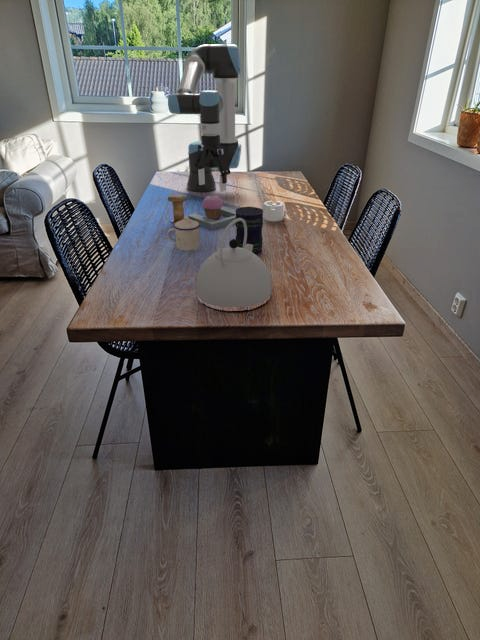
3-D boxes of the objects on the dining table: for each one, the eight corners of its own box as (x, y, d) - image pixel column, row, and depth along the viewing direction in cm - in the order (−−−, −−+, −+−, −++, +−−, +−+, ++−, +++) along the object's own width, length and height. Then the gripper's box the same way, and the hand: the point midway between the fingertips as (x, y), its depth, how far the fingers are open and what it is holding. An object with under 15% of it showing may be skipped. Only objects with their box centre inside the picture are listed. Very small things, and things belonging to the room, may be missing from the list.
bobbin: (166, 222, 190) (163, 196, 184) (180, 218, 195) (179, 193, 189) (177, 227, 185) (175, 200, 179) (192, 222, 190) (191, 197, 184)
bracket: (282, 222, 192) (283, 206, 188) (262, 221, 193) (262, 206, 189) (285, 208, 209) (285, 194, 205) (266, 207, 210) (267, 193, 206)
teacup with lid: (201, 243, 169) (200, 213, 163) (199, 252, 162) (197, 221, 156) (170, 242, 170) (167, 213, 164) (166, 252, 162) (163, 221, 156)
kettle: (219, 269, 149) (218, 203, 137) (283, 281, 141) (287, 212, 130) (182, 302, 129) (177, 228, 118) (254, 318, 122) (256, 240, 110)
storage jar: (243, 257, 157) (243, 216, 150) (230, 248, 165) (230, 209, 157) (267, 253, 161) (268, 212, 154) (254, 244, 169) (255, 205, 161)
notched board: (188, 221, 192) (187, 215, 190) (222, 211, 204) (222, 205, 202) (212, 230, 182) (212, 224, 181) (246, 219, 194) (246, 213, 193)
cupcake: (226, 217, 196) (226, 194, 191) (216, 223, 190) (216, 199, 185) (209, 214, 200) (208, 192, 195) (199, 219, 193) (198, 197, 188)
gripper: (183, 131, 182) (186, 183, 194) (224, 139, 167) (225, 195, 178) (197, 129, 187) (200, 180, 198) (239, 137, 172) (239, 191, 183)
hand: (212, 187), depth 188 cm, fingers open, 13 cm apart
